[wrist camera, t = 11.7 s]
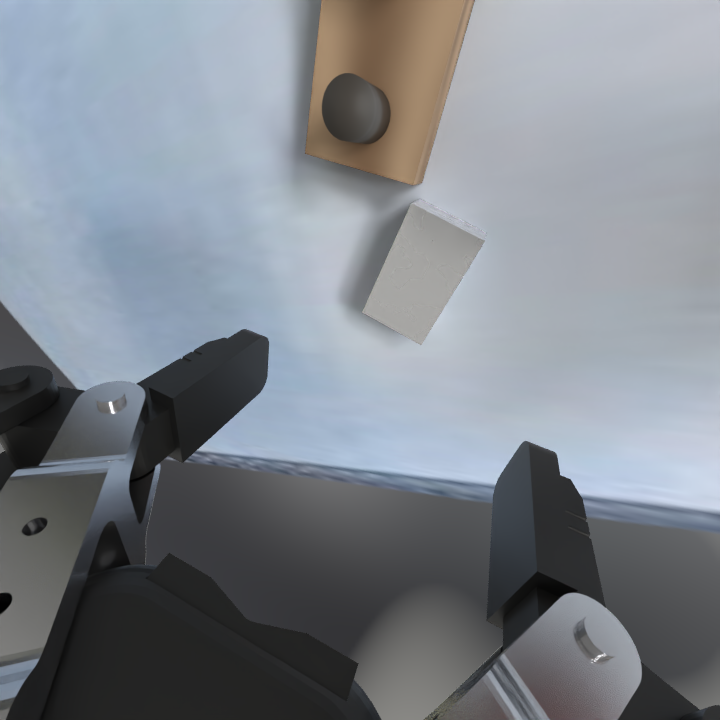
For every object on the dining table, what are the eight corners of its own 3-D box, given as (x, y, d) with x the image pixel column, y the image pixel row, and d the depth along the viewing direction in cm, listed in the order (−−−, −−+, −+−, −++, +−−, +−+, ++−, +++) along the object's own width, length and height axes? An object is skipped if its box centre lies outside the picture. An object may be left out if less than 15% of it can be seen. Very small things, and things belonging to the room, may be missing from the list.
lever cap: (486, 232, 25) (485, 241, 22) (428, 327, 30) (420, 345, 27) (421, 198, 26) (411, 203, 23) (375, 298, 31) (362, 312, 28)
